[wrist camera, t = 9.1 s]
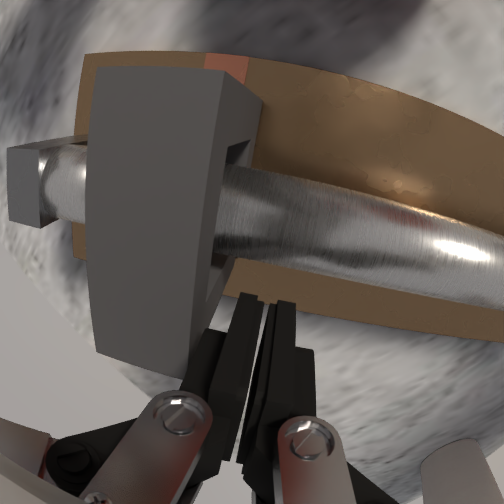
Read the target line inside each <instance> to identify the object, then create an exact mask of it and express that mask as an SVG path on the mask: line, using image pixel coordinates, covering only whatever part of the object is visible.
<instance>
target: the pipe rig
mask: <svg viewBox="0 0 504 504" xmlns="http://www.w3.org/2000/svg"><path fill="white" fill-rule="evenodd" d="M108 66H168V67H188V68H202V69H213V70H223V71H226V72H227V73H229V74H230V75H231V76H233V77H234V78H235V79H236V80H238V81H239V82H240V83H242V84H243V85H244V86H245V87H247V88H248V89H249V90H250V91H252V92H253V93H254V94H255V95H257V96H258V97H259V98H260V99H262V100H263V103H262V108H261V113H260V119H259V124H258V130H257V135H256V141H255V147H254V152H253V158H252V163H251V168H249V167H243V166H238V165H232V164H226V163H225V167H224V173H223V180H222V186H221V193H220V200H219V207H218V213H217V220H216V227H215V235H214V242H213V249H212V252H215V253H220V254H225V255H229V256H234V257H235V263H234V267H233V270H232V272H231V274H230V277H229V279H228V282H227V284H226V286H225V289H224V291H223V294H222V295H226V296H231V297H235V298H239V295H240V292H244V293H249V294H254V295H258V300H259V301H264V304H268V305H270V303H273V304H277V301H278V300H283V301H288V302H293V303H296V310H298V311H303V312H308V313H313V314H319V315H324V316H329V317H335V318H340V319H346V320H351V321H357V322H363V323H369V324H375V325H381V326H387V327H393V328H399V329H405V330H412V331H419V332H425V333H432V334H439V335H446V336H454V337H461V338H469V339H477V340H485V341H493V342H502V343H504V137H503V136H501V135H500V134H498V133H496V132H494V131H492V130H490V129H488V128H486V127H484V126H482V125H480V124H478V123H476V122H473V121H471V120H469V119H467V118H465V117H463V116H460V115H458V114H456V113H454V112H451V111H449V110H446V109H444V108H442V107H439V106H437V105H434V104H432V103H429V102H427V101H424V100H421V99H419V98H416V97H413V96H410V95H408V94H405V93H402V92H399V91H396V90H393V89H390V88H387V87H384V86H380V85H377V84H374V83H370V82H367V81H363V80H360V79H356V78H353V77H349V76H345V75H341V74H337V73H333V72H329V71H325V70H320V69H316V68H311V67H306V66H301V65H296V64H290V63H285V62H279V61H273V60H266V59H260V58H252V57H247V56H239V55H229V54H219V53H201V52H182V51H124V52H105V53H92V54H85V56H84V62H83V67H82V73H81V79H80V86H79V93H78V101H77V109H76V119H75V129H74V136H69V137H62V138H56V139H50V140H45V141H39V142H34V143H29V144H24V145H19V146H14V147H9V148H7V195H8V211H9V221H13V222H17V223H21V224H24V225H28V226H32V227H36V228H40V229H41V228H43V227H45V226H46V225H48V224H50V223H52V222H54V221H56V220H58V219H64V220H68V221H72V238H73V255H74V257H75V258H79V259H82V260H86V240H85V179H86V158H87V143H88V131H89V121H90V112H91V104H92V96H93V89H94V82H95V76H96V70H97V67H108Z"/></svg>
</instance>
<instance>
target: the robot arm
mask: <svg viewBox="0 0 504 504" xmlns="http://www.w3.org/2000/svg"><path fill="white" fill-rule="evenodd" d="M263 307H264V301H259V300H258V295H254V294H249V293H244V292H240V295H239V298H238V301H237V304H236V307H235V311H234V314H233V317H232V320H231V323H230V326H229V329H228V333H226V332H222V331H217V330H213V329H209V328H205V330H204V332H203V334H202V336H201V339H200V341H199V343H198V346H197V348H196V351H195V353H194V355H193V358H192V360H191V362H190V365H189V367H188V370H187V372H186V374H185V377H184V379H183V381H182V384H181V386H180V389H179V390H172V391H167V392H163V393H161V394H159V395H157V396H155V397H154V398H153V399H152V400H151V401H150V402H149V403H148V405H147V406H146V407H145V409H144V410H143V411H142V413H141V414H140V415H139V417H138V418H135V419H132V420H129V421H125V422H122V423H118V424H115V425H111V426H108V427H104V428H100V429H97V430H93V431H89V432H85V433H81V434H77V435H72V436H68V437H65V438H62V439H60V440H59V439H55V438H52V437H51V435H50V434H48V433H45V432H42V431H38V430H35V429H32V428H28V427H25V426H22V425H20V424H16V423H14V422H11V421H8V420H5V419H2V418H0V504H193V503H194V501H195V499H196V497H197V495H198V493H199V491H200V489H201V486H202V484H203V481H205V480H207V479H209V478H211V477H213V476H215V475H218V473H219V469H220V465H221V461H222V460H224V461H230V458H231V455H232V451H233V448H234V444H235V440H236V436H237V433H238V429H239V425H240V421H241V417H242V414H243V410H244V406H245V402H246V398H247V393H248V388H249V383H250V378H251V373H252V367H253V362H254V357H255V351H256V346H257V340H258V335H259V329H260V324H261V318H262V313H263ZM295 339H296V303H293V302H288V301H283V300H278V301H277V304H273V303H270V305H269V309H268V313H267V317H266V321H265V326H264V330H263V334H262V338H261V342H260V346H259V350H258V355H257V359H256V363H255V367H254V371H253V376H252V381H251V386H250V392H249V397H248V402H247V408H246V413H245V418H244V423H243V429H242V434H241V439H240V444H239V449H238V454H237V459H236V463H240V464H243V468H242V474H244V476H243V479H244V481H245V482H246V483H247V484H248V485H249V486H250V487H251V488H252V504H399V503H398V502H397V501H396V500H394V499H393V498H392V497H390V496H389V495H388V494H386V493H385V492H384V491H383V490H381V489H380V488H379V487H377V486H376V485H375V484H374V483H372V482H371V481H370V480H369V479H367V478H366V477H365V476H364V475H363V474H361V473H360V472H359V471H358V470H357V469H355V468H354V467H353V466H352V465H351V464H349V463H348V462H347V461H346V458H345V454H344V450H343V446H342V442H341V438H340V436H339V434H338V432H337V431H336V430H335V428H334V427H333V426H332V425H331V424H329V423H328V422H326V421H325V420H322V419H320V418H317V417H316V387H315V362H314V351H313V350H312V349H306V348H301V347H295Z"/></svg>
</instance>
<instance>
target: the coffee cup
mask: <svg viewBox="0 0 504 504" xmlns="http://www.w3.org/2000/svg"><path fill="white" fill-rule="evenodd" d="M420 470H421V480H422V490H423V502H424V504H504V499H503V497H502V494H501V492H500V490H499V488H498V485H497V483H496V481H495V478H494V476H493V474H492V472H491V470H490V468H489V465H488V463H487V461H486V459H485V457H484V455H483V453H482V451H481V449H480V447H479V445H478V443H477V441H476V440H474V439H463V440H459V441H455V442H453V443H450V444H448V445H446V446H444V447H442V448H440V449H438V450H436V451H435V452H433V453H432V454H431V455H429V456H428V457H427V458H426V459H425V460H424V461H423V462H422V464H421V467H420Z"/></svg>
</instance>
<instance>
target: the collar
mask: <svg viewBox="0 0 504 504" xmlns="http://www.w3.org/2000/svg"><path fill="white" fill-rule="evenodd" d="M262 103H263V100H262V99H260V98H259V97H258V96H257V95H255V94H254V93H253V92H252V91H250V90H249V89H248V88H247V87H245V86H244V85H243V84H242V83H240V82H239V81H238V80H236V79H235V78H234V77H233V76H231V75H230V74H229V73H227V72H226V71H223V70H213V69H202V68H188V67H168V66H108V67H97V70H96V76H95V82H94V89H93V96H92V104H91V112H90V121H89V131H88V143H87V158H86V179H85V240H86V262H87V277H88V289H89V299H90V309H91V317H92V325H93V332H94V339H95V346H96V352H98V353H100V354H103V355H106V356H109V357H111V358H114V359H117V360H120V361H123V362H126V363H129V364H132V365H135V366H138V367H141V368H144V369H148V370H151V371H154V372H157V373H161V374H164V375H168V376H171V377H175V378H178V379H182V380H183V379H184V377H185V374H186V372H187V370H188V367H189V365H190V362H191V360H192V358H193V355H194V353H195V351H196V348H197V346H198V343H199V341H200V339H201V336H202V334H203V332H204V330H205V328H208V327H209V325H210V323H211V320H212V318H213V315H214V313H215V310H216V308H217V306H218V303H219V301H220V298H221V296H222V294H223V291H224V289H225V286H226V284H227V282H228V279H229V277H230V274H231V272H232V270H233V267H234V263H235V257H234V256H229V255H225V254H220V253H215V252H212V249H213V242H214V235H215V227H216V220H217V213H218V207H219V200H220V193H221V186H222V180H223V173H224V167H225V163H226V164H232V165H238V166H243V167H249V168H251V163H252V158H253V152H254V147H255V141H256V135H257V130H258V124H259V119H260V113H261V108H262Z"/></svg>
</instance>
